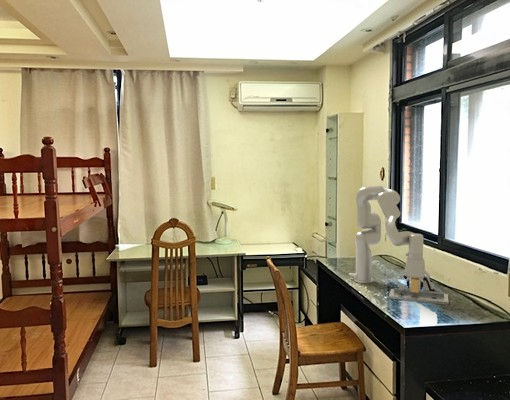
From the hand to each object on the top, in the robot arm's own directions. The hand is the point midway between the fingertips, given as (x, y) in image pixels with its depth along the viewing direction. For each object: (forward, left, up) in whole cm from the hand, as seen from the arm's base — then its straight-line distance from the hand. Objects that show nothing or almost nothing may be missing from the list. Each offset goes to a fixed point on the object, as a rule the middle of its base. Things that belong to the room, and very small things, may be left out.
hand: (414, 287), depth 241 cm
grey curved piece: (+4, +22, -5) cm, 23 cm away
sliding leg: (0, 0, -3) cm, 3 cm away
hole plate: (+2, -1, -5) cm, 6 cm away
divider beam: (+2, 0, -4) cm, 4 cm away
